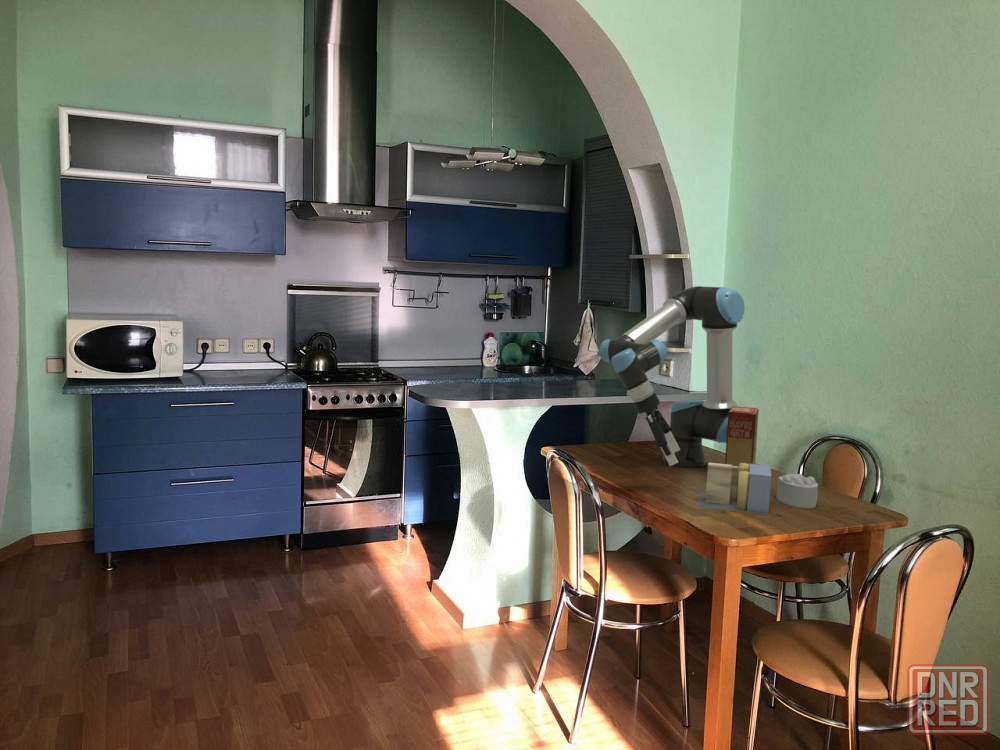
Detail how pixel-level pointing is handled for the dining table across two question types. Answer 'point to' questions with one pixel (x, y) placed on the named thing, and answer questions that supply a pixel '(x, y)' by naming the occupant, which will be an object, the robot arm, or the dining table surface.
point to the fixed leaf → (754, 488)
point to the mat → (721, 505)
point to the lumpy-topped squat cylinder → (797, 490)
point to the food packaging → (741, 435)
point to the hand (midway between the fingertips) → (675, 457)
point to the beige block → (722, 483)
